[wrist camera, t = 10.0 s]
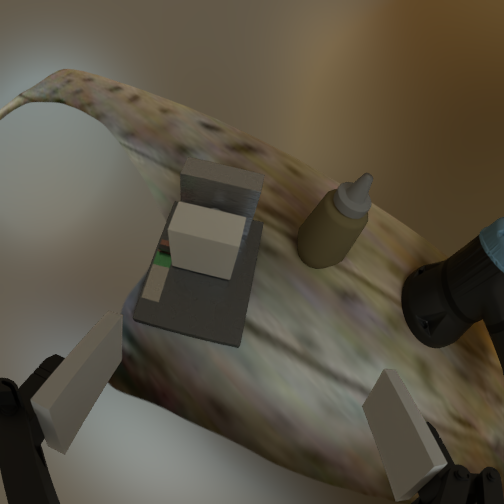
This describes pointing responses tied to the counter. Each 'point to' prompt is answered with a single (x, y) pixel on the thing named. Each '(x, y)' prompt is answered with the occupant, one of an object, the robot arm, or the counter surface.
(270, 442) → the counter surface
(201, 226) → the block
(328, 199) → the squeeze bottle
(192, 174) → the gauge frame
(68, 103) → the counter surface
